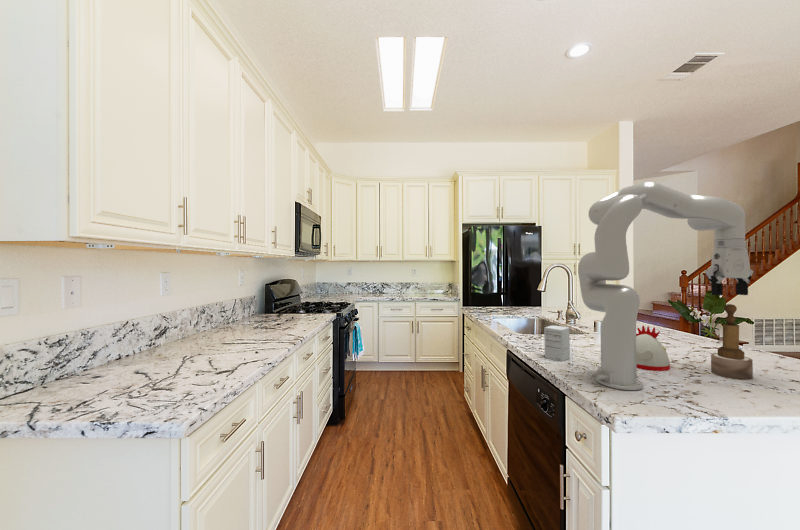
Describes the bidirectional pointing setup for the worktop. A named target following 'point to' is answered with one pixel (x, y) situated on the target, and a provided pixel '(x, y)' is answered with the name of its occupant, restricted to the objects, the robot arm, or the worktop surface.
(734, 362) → the display pedestal
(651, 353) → the kitchen timer
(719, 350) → the brown wooden turned piece
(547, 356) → the supplement box
